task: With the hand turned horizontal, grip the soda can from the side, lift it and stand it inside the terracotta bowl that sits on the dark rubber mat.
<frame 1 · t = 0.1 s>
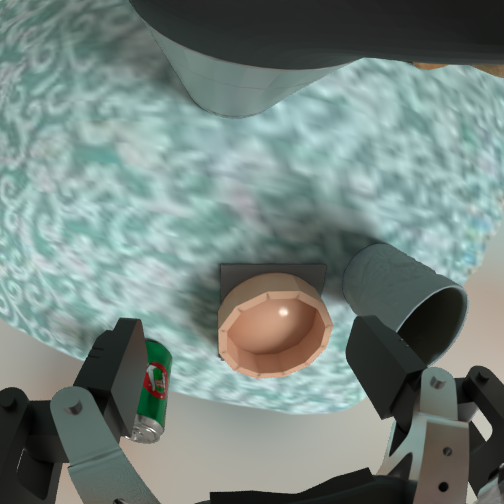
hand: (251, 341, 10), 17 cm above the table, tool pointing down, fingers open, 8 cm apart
soda can: (153, 352, 31), on the table
bowl: (270, 318, 30), resting on mat
mat: (269, 316, 31), on the table
stone cup: (427, 36, 19), on the table
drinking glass: (371, 274, 30), on the table
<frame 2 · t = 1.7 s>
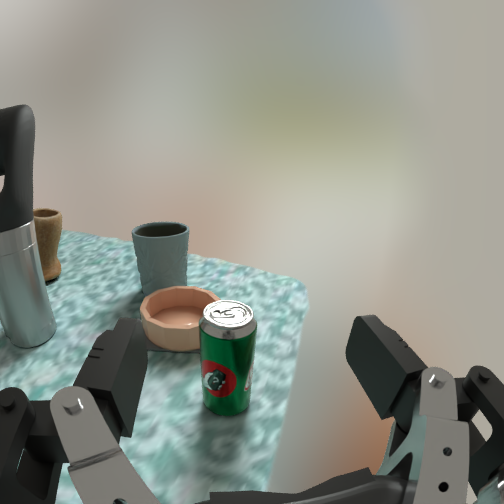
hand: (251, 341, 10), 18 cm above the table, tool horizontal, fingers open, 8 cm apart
soda can: (226, 402, 27), on the table
bowl: (182, 326, 39), resting on mat
stone cup: (46, 273, 51), on the table
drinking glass: (163, 291, 50), on the table
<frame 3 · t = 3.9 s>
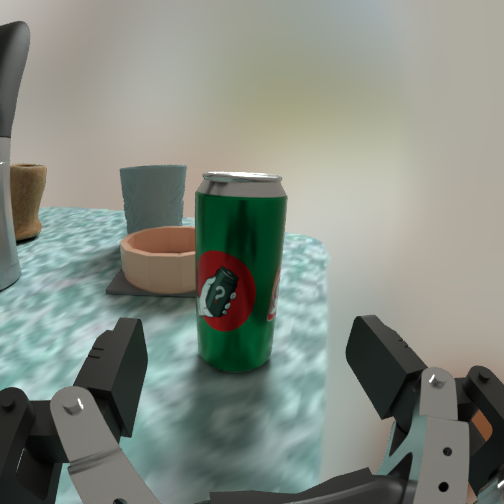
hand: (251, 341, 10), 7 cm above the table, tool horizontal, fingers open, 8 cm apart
soda can: (234, 355, 18), on the table
bowl: (174, 270, 31), resting on mat
mat: (174, 273, 31), on the table
stone cup: (25, 236, 42), on the table
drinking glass: (154, 244, 41), on the table
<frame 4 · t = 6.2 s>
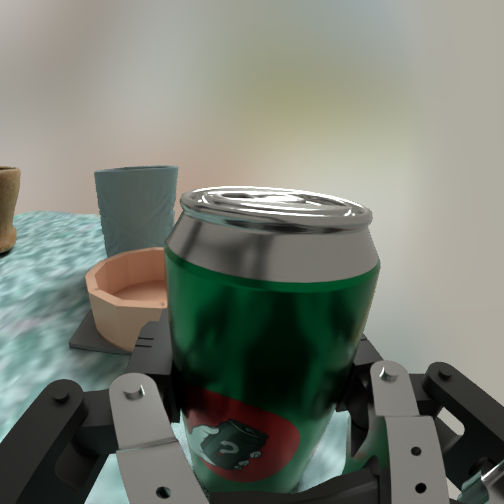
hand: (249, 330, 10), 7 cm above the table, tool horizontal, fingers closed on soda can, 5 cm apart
soda can: (247, 467, 10), on the table, touching gripper
bowl: (159, 311, 22), resting on mat
mat: (160, 315, 22), on the table
stone cup: (0, 249, 33), on the table
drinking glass: (139, 264, 33), on the table
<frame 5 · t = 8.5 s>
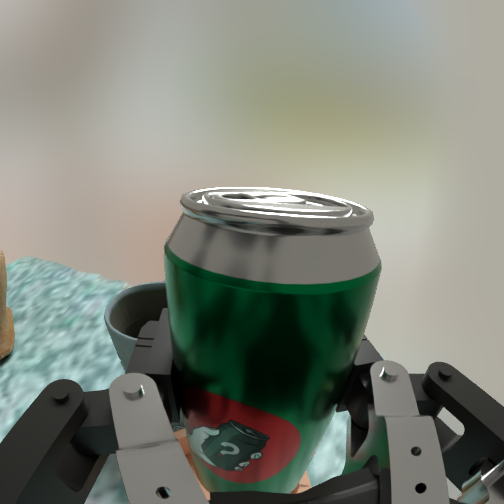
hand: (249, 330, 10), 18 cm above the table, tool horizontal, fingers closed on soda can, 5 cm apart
soda can: (248, 468, 10), point 11 cm above the table, touching gripper
bowl: (227, 493, 15), resting on mat
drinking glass: (174, 398, 26), on the table
when the fingers open (9 cm above the table, at t = 11.2 s): soda can drops 2 cm, resting on bowl.
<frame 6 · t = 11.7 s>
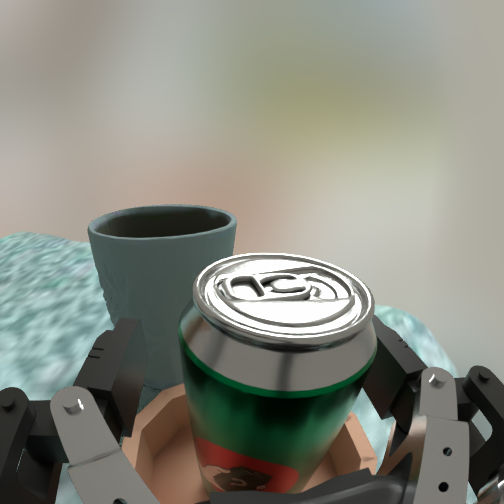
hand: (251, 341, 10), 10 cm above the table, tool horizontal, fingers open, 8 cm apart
soda can: (251, 483, 10), point 1 cm above the table, touching bowl
bowl: (245, 483, 11), resting on mat
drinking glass: (172, 359, 22), on the table
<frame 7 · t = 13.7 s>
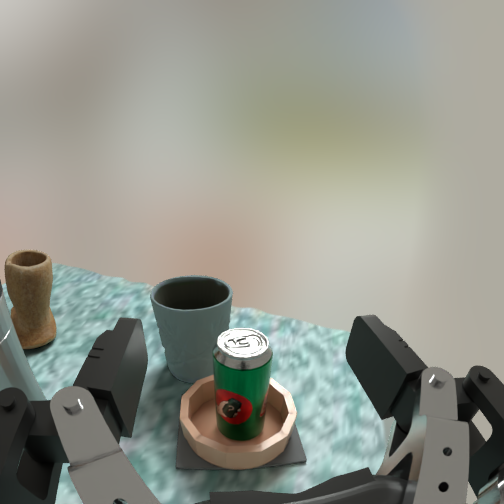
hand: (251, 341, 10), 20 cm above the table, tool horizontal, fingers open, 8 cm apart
soda can: (240, 427, 25), point 1 cm above the table, touching bowl
bowl: (237, 427, 26), resting on mat
mat: (237, 429, 26), on the table
stone cup: (39, 331, 37), on the table
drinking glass: (196, 365, 37), on the table
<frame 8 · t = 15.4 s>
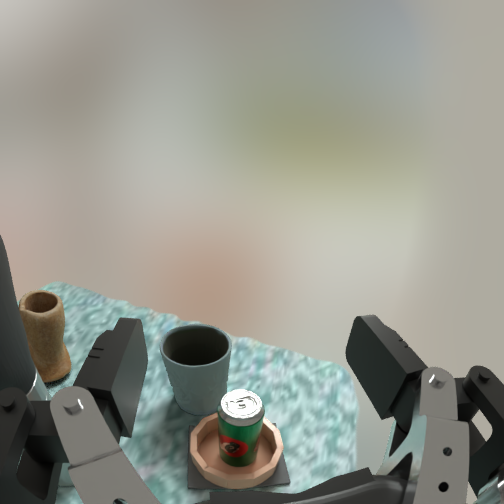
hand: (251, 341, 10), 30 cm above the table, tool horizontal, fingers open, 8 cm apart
soda can: (238, 454, 29), point 1 cm above the table, touching bowl
bowl: (235, 455, 30), resting on mat
mat: (235, 456, 30), on the table
stone cup: (53, 361, 41), on the table
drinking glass: (199, 398, 40), on the table
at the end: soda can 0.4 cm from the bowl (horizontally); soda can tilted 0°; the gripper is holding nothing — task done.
